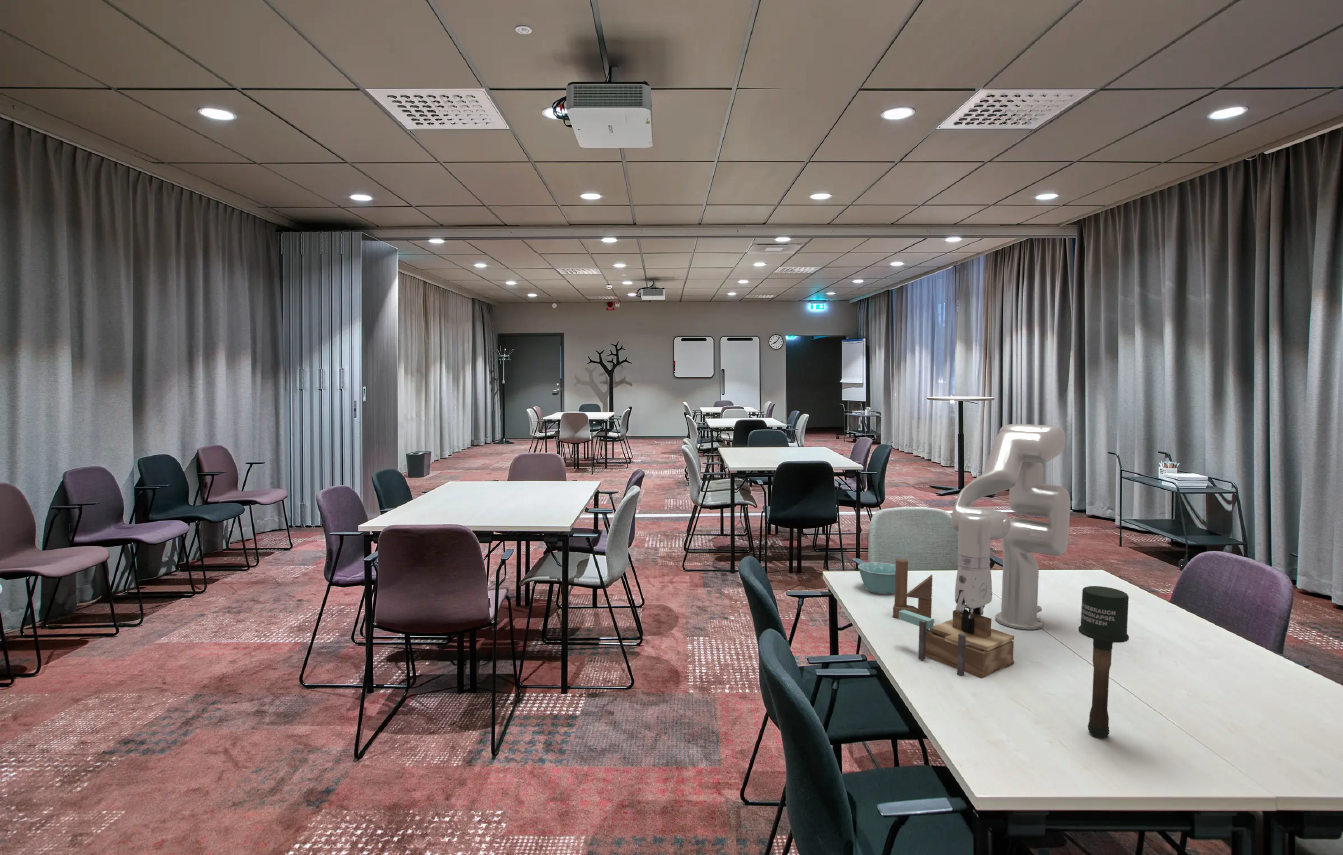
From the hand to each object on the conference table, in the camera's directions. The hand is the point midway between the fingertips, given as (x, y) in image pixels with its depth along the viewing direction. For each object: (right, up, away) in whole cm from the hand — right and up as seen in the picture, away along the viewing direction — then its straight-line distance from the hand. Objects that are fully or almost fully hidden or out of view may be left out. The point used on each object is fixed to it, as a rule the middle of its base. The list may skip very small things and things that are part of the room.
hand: (971, 629), depth 173 cm
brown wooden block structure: (-5, -6, +30) cm, 31 cm away
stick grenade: (+9, -10, -37) cm, 39 cm away
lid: (-1, -3, -1) cm, 3 cm away
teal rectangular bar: (-13, 0, +4) cm, 14 cm away
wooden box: (-2, -8, -1) cm, 8 cm away
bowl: (-5, -4, +57) cm, 58 cm away
